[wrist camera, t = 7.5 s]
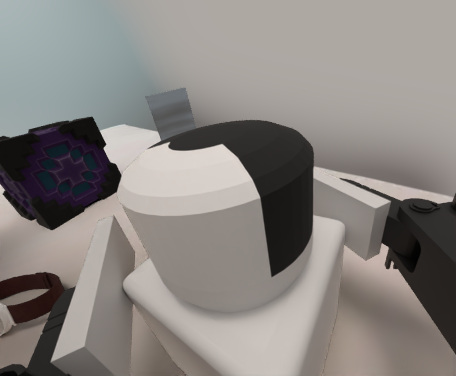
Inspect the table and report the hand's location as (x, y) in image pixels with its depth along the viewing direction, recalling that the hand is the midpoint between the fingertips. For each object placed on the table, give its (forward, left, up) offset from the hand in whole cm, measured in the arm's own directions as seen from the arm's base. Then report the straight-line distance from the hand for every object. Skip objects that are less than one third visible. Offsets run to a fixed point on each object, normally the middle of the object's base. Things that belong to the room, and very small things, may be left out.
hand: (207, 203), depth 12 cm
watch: (-7, +16, -7) cm, 19 cm away
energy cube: (+7, +32, -7) cm, 33 cm away
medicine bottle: (-3, -3, -7) cm, 8 cm away
